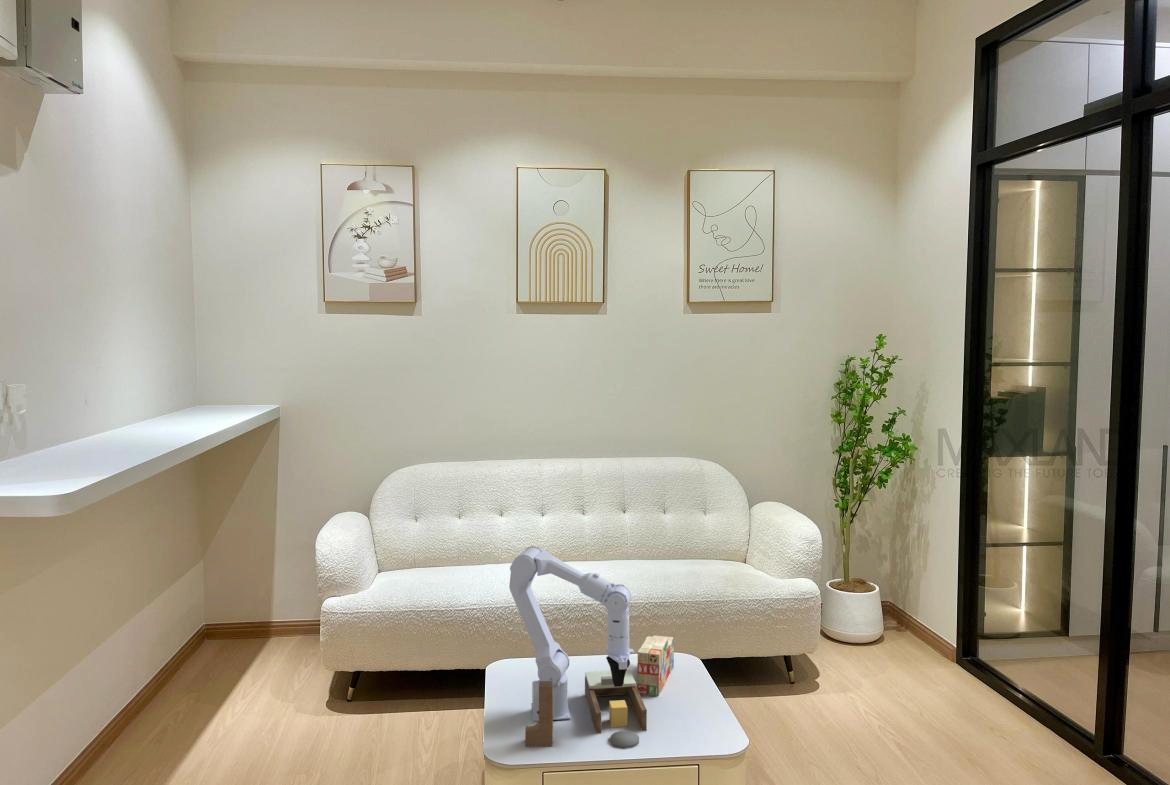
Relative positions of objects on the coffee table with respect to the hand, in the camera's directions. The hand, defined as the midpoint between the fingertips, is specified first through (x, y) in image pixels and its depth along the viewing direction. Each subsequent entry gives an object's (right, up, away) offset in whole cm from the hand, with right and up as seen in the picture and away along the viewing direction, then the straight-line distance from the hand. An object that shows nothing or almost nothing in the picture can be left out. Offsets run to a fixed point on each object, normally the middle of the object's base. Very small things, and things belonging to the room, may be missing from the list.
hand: (617, 685), depth 207 cm
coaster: (+1, -10, -10) cm, 14 cm away
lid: (-2, -3, +12) cm, 13 cm away
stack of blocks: (+12, -8, +26) cm, 30 cm away
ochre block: (0, -10, 0) cm, 10 cm away
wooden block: (-20, -10, -11) cm, 25 cm away
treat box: (-1, -9, +6) cm, 11 cm away
